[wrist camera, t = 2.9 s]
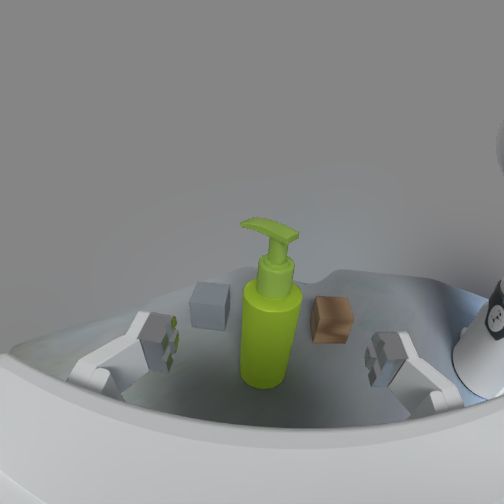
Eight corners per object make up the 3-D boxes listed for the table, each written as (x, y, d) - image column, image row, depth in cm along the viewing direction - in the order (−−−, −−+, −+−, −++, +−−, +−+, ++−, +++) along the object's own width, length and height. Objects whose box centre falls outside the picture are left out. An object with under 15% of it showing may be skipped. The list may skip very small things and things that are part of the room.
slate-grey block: (229, 309, 44) (229, 284, 42) (224, 331, 40) (224, 306, 38) (199, 306, 45) (197, 281, 42) (192, 327, 40) (189, 302, 38)
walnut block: (339, 321, 43) (347, 297, 40) (344, 343, 39) (354, 319, 36) (310, 320, 43) (316, 295, 41) (312, 343, 39) (319, 318, 36)
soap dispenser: (254, 344, 38) (265, 208, 28) (293, 369, 34) (325, 229, 25) (224, 367, 34) (223, 223, 24) (265, 397, 30) (289, 251, 21)
